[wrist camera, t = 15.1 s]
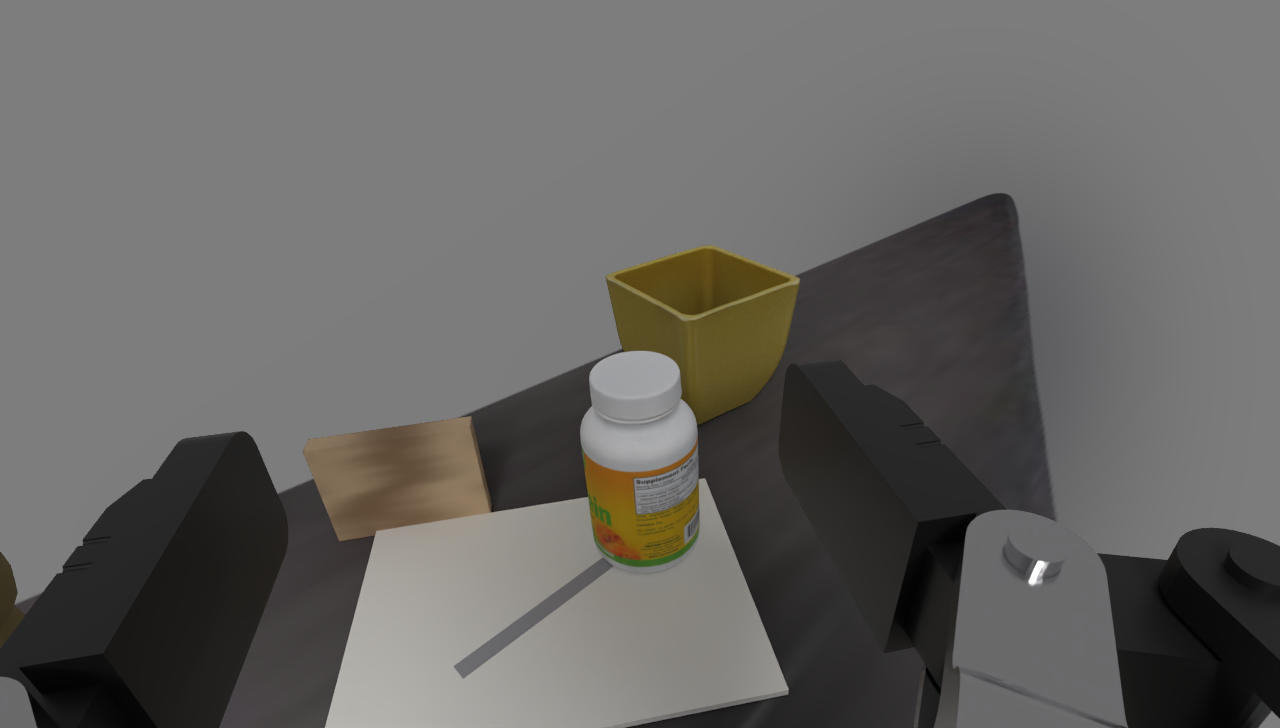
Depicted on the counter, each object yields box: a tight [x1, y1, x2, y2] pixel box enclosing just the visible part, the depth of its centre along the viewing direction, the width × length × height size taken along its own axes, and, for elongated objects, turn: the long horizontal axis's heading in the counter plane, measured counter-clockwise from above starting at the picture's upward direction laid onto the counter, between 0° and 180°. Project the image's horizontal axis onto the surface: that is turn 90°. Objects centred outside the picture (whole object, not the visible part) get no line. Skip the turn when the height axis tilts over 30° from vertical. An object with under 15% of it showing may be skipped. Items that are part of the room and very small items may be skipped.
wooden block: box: [303, 416, 492, 541], centre depth 34 cm, size 8×1×6 cm, turn 100°
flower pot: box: [606, 245, 800, 425], centre depth 42 cm, size 9×9×9 cm
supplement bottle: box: [580, 351, 700, 574], centre depth 30 cm, size 5×5×10 cm
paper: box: [325, 478, 789, 728], centre depth 30 cm, size 18×13×1 cm
